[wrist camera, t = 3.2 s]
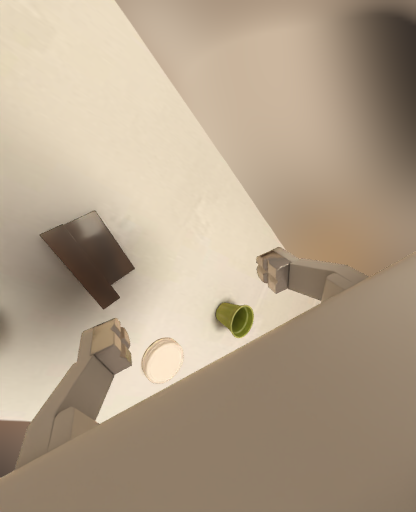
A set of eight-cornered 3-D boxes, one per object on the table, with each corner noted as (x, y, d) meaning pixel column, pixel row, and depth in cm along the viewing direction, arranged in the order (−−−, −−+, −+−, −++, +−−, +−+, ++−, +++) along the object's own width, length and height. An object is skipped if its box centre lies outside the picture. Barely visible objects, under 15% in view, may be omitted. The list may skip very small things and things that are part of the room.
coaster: (156, 332, 48) (162, 338, 46) (184, 343, 54) (191, 350, 51) (132, 371, 46) (137, 380, 43) (164, 379, 51) (170, 388, 48)
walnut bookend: (95, 293, 39) (103, 309, 31) (44, 233, 34) (39, 234, 26) (133, 268, 43) (149, 276, 36) (94, 210, 38) (103, 205, 30)
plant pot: (233, 294, 64) (254, 302, 57) (233, 321, 65) (253, 332, 58) (211, 300, 58) (231, 310, 51) (211, 330, 60) (231, 343, 53)
